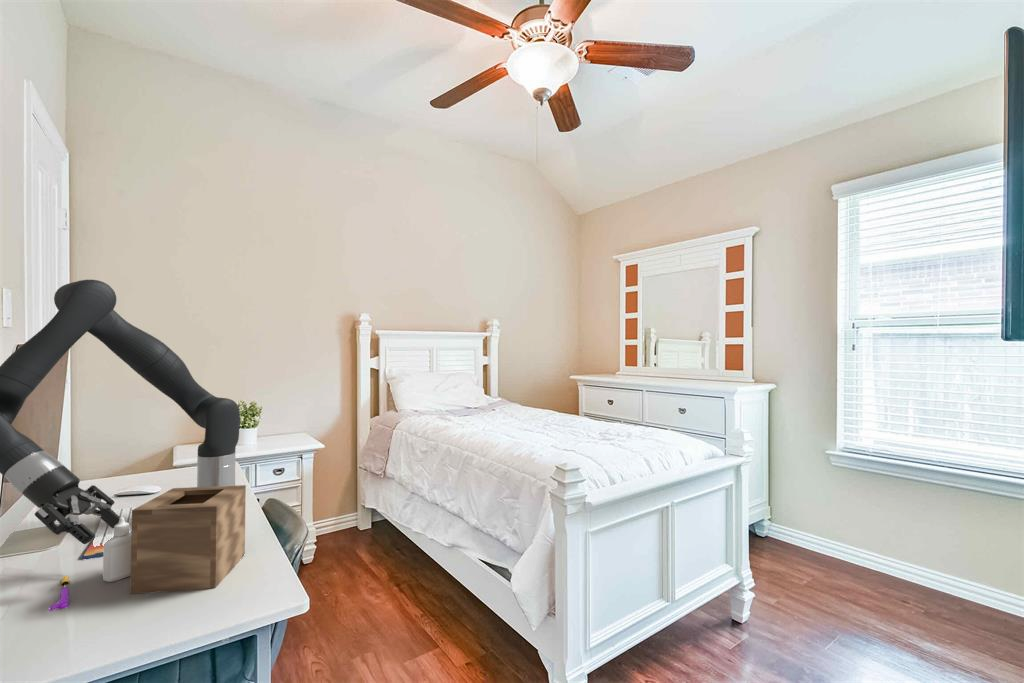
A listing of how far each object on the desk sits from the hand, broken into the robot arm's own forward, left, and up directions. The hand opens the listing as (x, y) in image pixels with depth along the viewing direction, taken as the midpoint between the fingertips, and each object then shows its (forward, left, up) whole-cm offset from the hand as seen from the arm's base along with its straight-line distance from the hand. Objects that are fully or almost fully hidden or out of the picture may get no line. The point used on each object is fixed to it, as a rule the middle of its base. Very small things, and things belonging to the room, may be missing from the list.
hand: (105, 532), depth 99 cm
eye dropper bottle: (0, +3, -9) cm, 10 cm away
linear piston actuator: (+6, -4, -10) cm, 12 cm away
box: (+1, +17, -9) cm, 19 cm away
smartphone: (-18, -10, -10) cm, 23 cm away
